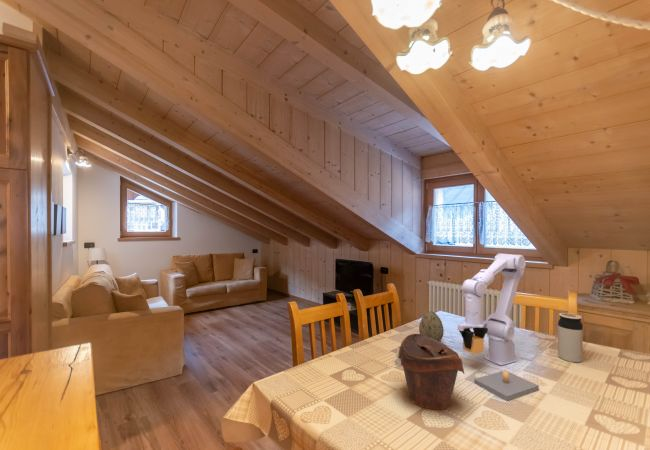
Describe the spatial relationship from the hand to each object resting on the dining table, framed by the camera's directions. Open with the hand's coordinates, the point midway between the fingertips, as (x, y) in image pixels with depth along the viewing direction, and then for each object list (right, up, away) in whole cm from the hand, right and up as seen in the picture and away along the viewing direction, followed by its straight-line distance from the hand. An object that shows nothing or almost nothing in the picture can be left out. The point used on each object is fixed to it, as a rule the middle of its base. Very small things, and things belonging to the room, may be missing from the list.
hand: (473, 346), depth 119 cm
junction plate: (+5, -8, -13) cm, 16 cm away
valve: (-23, -9, +5) cm, 25 cm away
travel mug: (+45, -9, +10) cm, 47 cm away
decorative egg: (-7, -9, +25) cm, 28 cm away
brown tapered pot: (-23, -8, -21) cm, 32 cm away
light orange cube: (0, -1, 0) cm, 1 cm away
